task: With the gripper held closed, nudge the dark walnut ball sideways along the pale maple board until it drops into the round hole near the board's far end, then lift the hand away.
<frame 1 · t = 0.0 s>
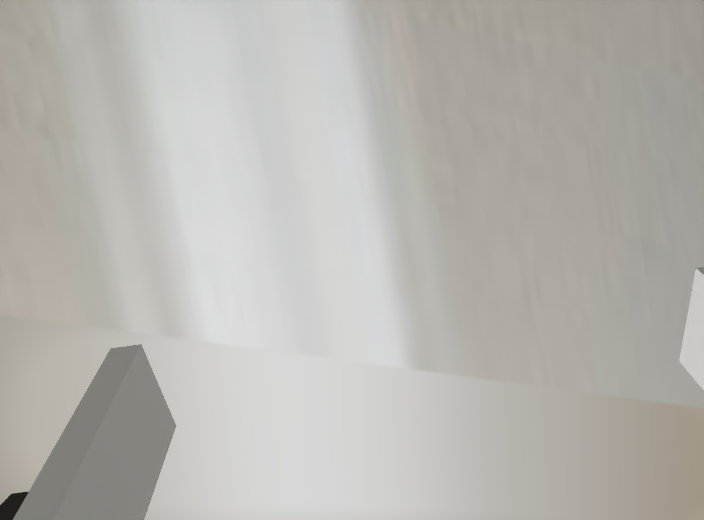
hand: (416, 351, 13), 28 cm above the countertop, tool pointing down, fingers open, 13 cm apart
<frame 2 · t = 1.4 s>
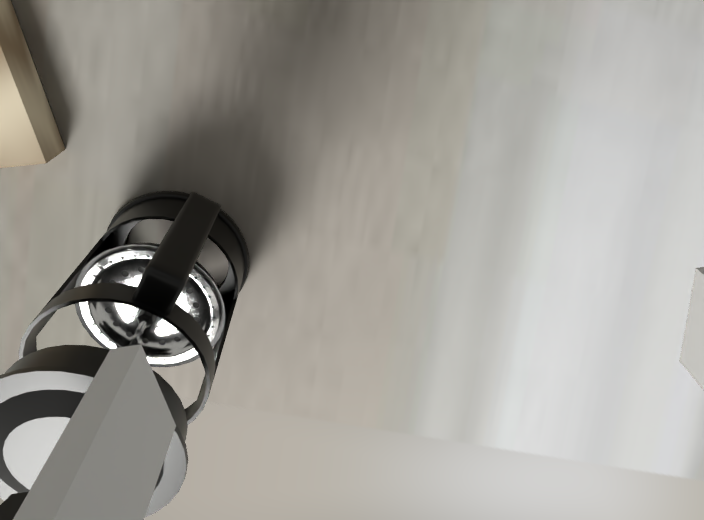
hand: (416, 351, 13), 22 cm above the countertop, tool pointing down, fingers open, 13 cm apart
french press: (182, 248, 37), on the countertop
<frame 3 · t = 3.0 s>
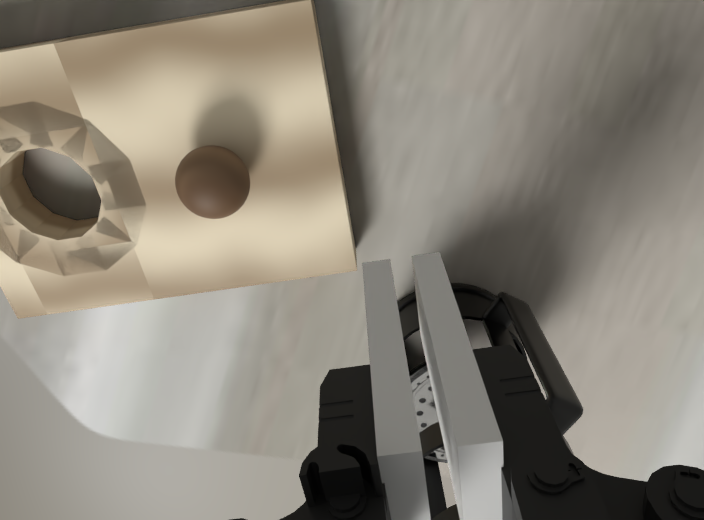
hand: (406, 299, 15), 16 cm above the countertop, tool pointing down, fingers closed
french press: (449, 335, 37), on the countertop
ball: (213, 182, 26), point 4 cm above the countertop, touching deck
deck: (157, 164, 30), on the countertop
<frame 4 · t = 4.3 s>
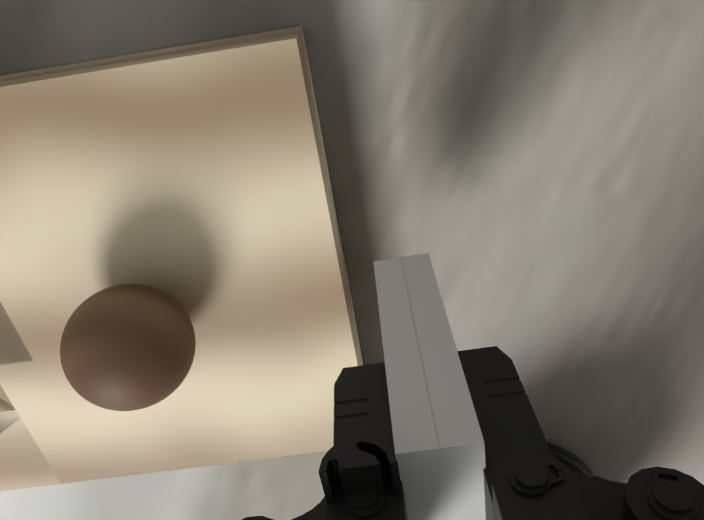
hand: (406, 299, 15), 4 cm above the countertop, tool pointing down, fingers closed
french press: (500, 498, 26), on the countertop
ball: (130, 346, 15), point 4 cm above the countertop, touching deck
deck: (60, 285, 19), on the countertop
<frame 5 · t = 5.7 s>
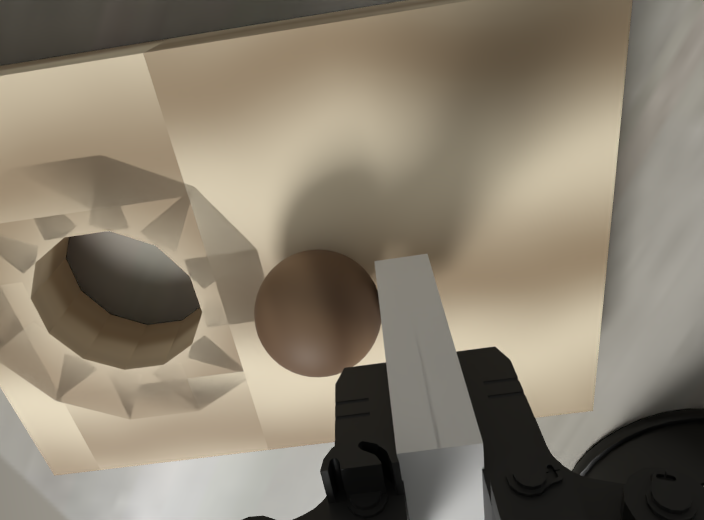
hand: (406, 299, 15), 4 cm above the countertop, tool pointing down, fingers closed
french press: (671, 472, 25), on the countertop
ball: (318, 312, 15), point 4 cm above the countertop, tilted 78°, touching deck, gripper
deck: (283, 245, 19), on the countertop
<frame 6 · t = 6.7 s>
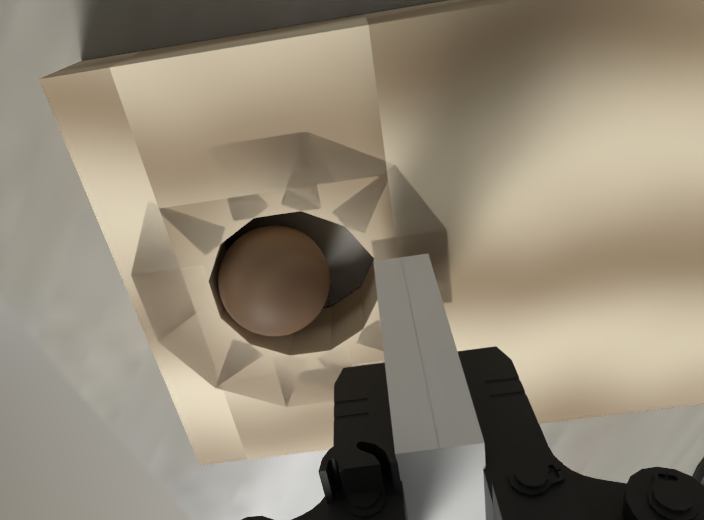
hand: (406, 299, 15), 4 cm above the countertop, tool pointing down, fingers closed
ball: (274, 280, 17), point 2 cm above the countertop, tilted 33°
deck: (445, 228, 19), on the countertop
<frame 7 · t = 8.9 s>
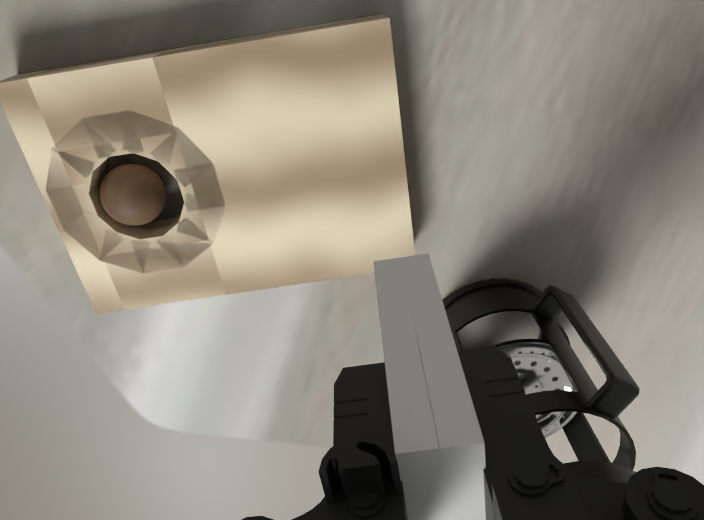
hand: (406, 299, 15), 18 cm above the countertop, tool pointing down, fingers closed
french press: (493, 327, 39), on the countertop
ball: (133, 194, 31), point 2 cm above the countertop, tilted 42°
deck: (231, 168, 33), on the countertop
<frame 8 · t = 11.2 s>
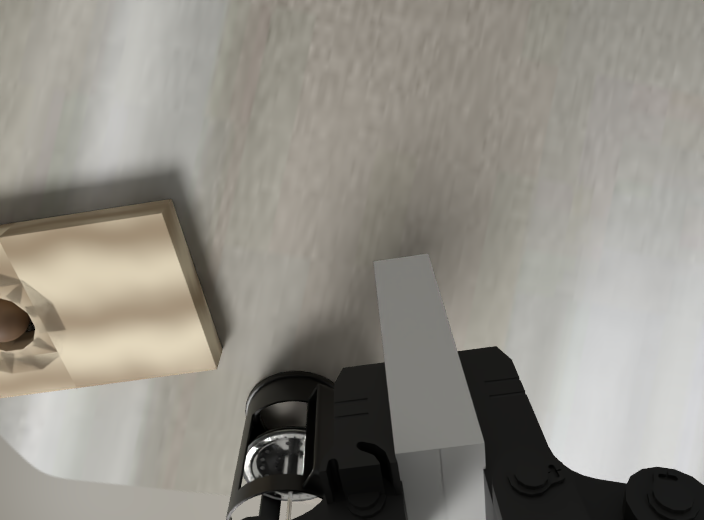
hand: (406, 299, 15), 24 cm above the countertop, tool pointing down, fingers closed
french press: (300, 405, 50), on the countertop
ball: (3, 319, 43), point 2 cm above the countertop, tilted 51°
deck: (76, 297, 44), on the countertop
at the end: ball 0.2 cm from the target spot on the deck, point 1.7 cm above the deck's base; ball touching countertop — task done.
